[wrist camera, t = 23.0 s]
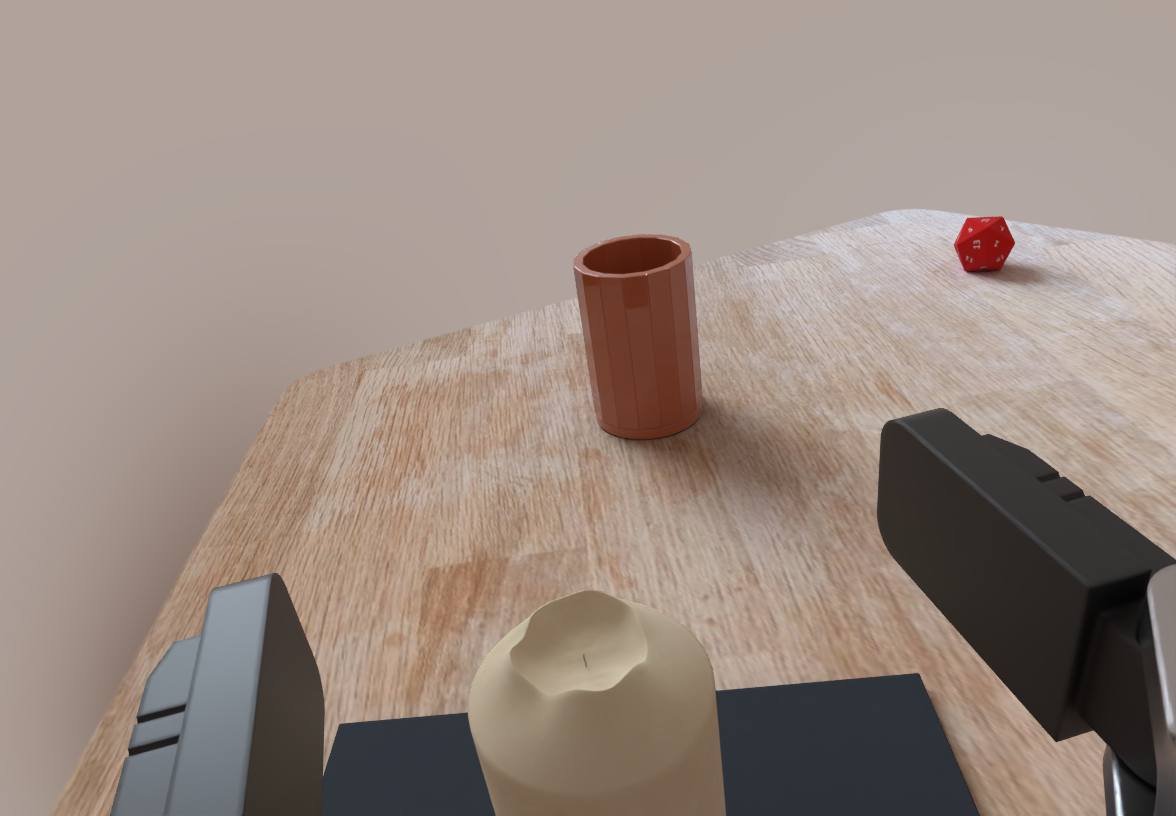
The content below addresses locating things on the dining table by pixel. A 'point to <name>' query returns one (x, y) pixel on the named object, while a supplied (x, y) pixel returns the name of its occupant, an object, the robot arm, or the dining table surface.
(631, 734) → the candle
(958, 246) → the die
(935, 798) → the slate mat
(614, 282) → the terracotta cup
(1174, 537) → the dining table surface
